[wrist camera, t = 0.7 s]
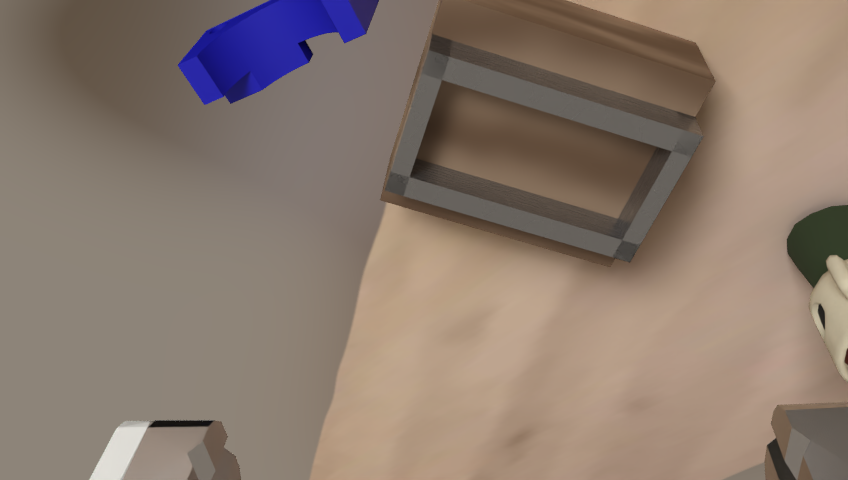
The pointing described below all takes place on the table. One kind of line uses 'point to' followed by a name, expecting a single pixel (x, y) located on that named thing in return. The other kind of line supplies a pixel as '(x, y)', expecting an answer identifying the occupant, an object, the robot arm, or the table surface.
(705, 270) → the table surface
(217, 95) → the cable clip
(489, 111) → the hinge cabinet
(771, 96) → the table surface
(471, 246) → the table surface
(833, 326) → the character mug
